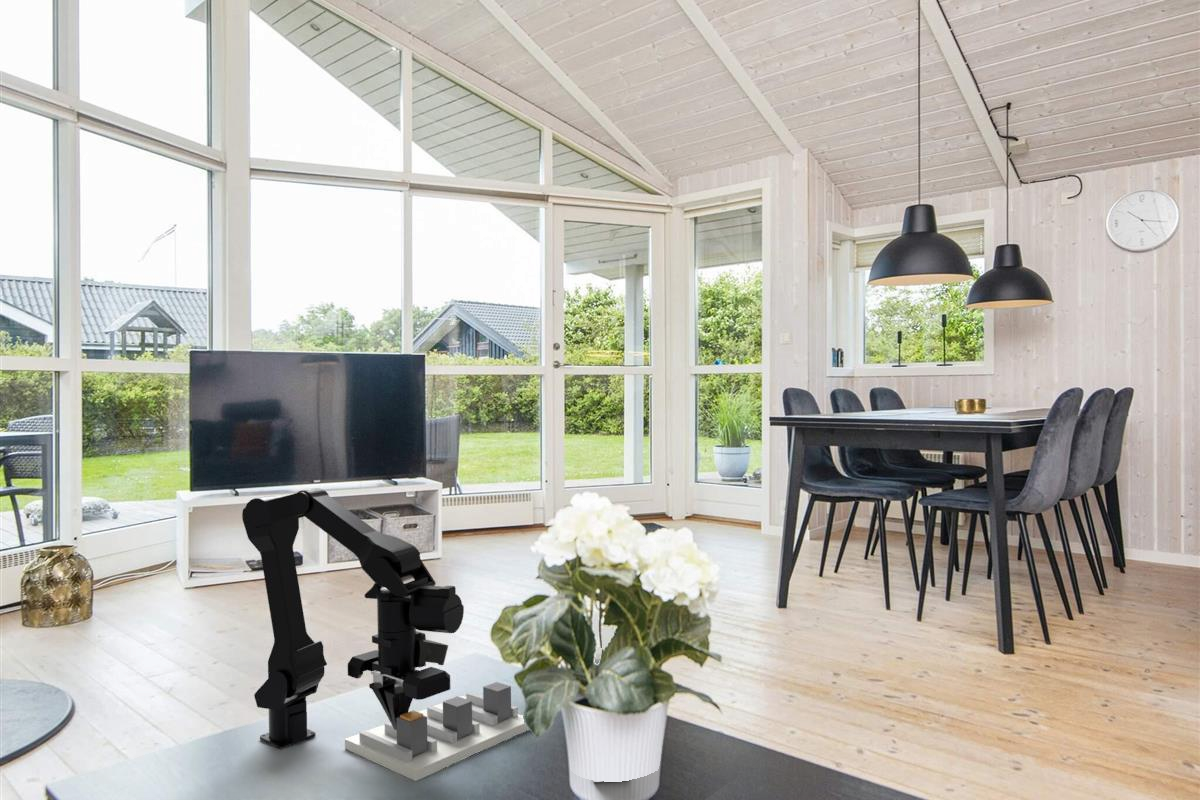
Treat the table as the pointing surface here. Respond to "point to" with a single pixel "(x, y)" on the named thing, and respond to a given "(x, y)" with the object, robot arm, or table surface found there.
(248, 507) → the robot arm
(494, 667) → the table surface
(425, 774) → the breaker board
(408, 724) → the block
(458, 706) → the block
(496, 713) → the block
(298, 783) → the table surface
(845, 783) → the table surface
